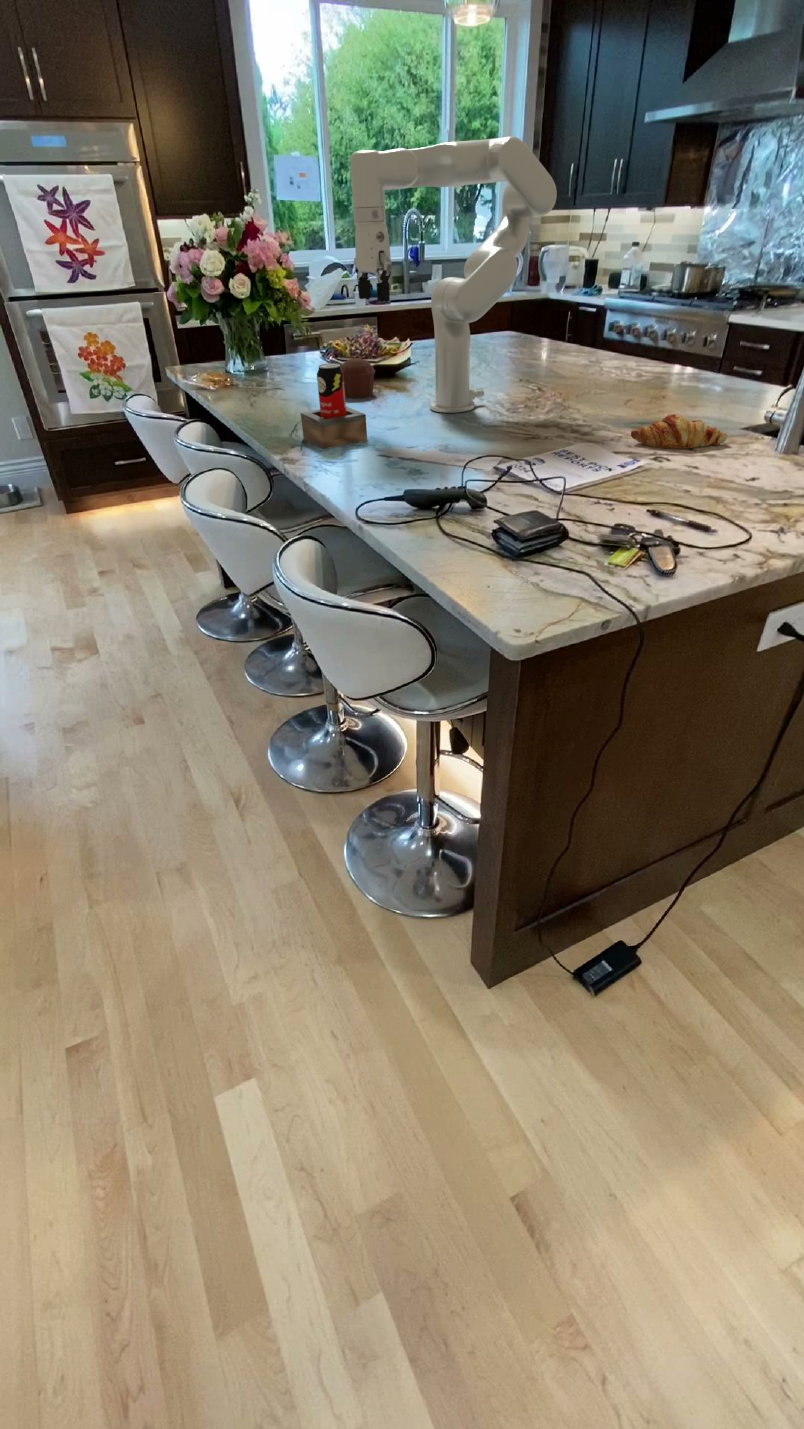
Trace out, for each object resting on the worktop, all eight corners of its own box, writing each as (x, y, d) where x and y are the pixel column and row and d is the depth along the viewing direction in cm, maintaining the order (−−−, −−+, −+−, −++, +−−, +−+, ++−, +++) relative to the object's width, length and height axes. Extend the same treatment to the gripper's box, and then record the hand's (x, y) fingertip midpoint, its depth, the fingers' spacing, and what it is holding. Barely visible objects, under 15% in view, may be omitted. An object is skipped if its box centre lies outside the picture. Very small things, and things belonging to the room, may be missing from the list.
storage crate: (345, 430, 189) (343, 405, 185) (367, 440, 180) (365, 414, 176) (303, 438, 184) (300, 412, 180) (323, 449, 175) (320, 422, 172)
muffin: (356, 389, 230) (353, 354, 224) (383, 392, 224) (382, 357, 218) (331, 397, 222) (328, 361, 216) (359, 400, 216) (357, 364, 211)
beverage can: (322, 415, 182) (317, 363, 175) (347, 414, 182) (343, 362, 175) (319, 422, 177) (314, 368, 170) (345, 421, 177) (341, 367, 170)
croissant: (719, 456, 170) (723, 421, 169) (732, 446, 160) (736, 409, 159) (626, 454, 173) (629, 419, 172) (633, 444, 163) (637, 407, 162)
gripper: (401, 215, 166) (404, 301, 176) (366, 216, 179) (371, 296, 189) (373, 217, 163) (377, 304, 173) (339, 217, 176) (345, 298, 186)
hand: (374, 300), depth 181 cm, fingers open, 9 cm apart
